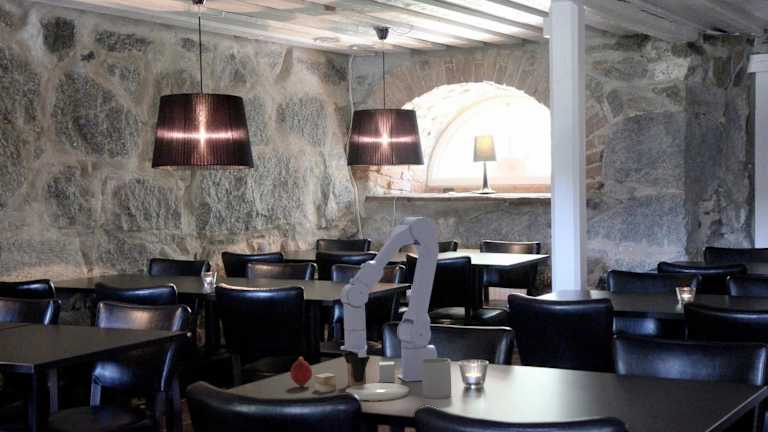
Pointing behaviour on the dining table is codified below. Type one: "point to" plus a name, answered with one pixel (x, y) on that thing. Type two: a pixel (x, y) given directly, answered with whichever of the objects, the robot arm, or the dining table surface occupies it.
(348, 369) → the walnut block
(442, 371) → the cup
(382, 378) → the grey block
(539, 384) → the dining table surface
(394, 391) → the plate
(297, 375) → the onion
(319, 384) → the oak block
